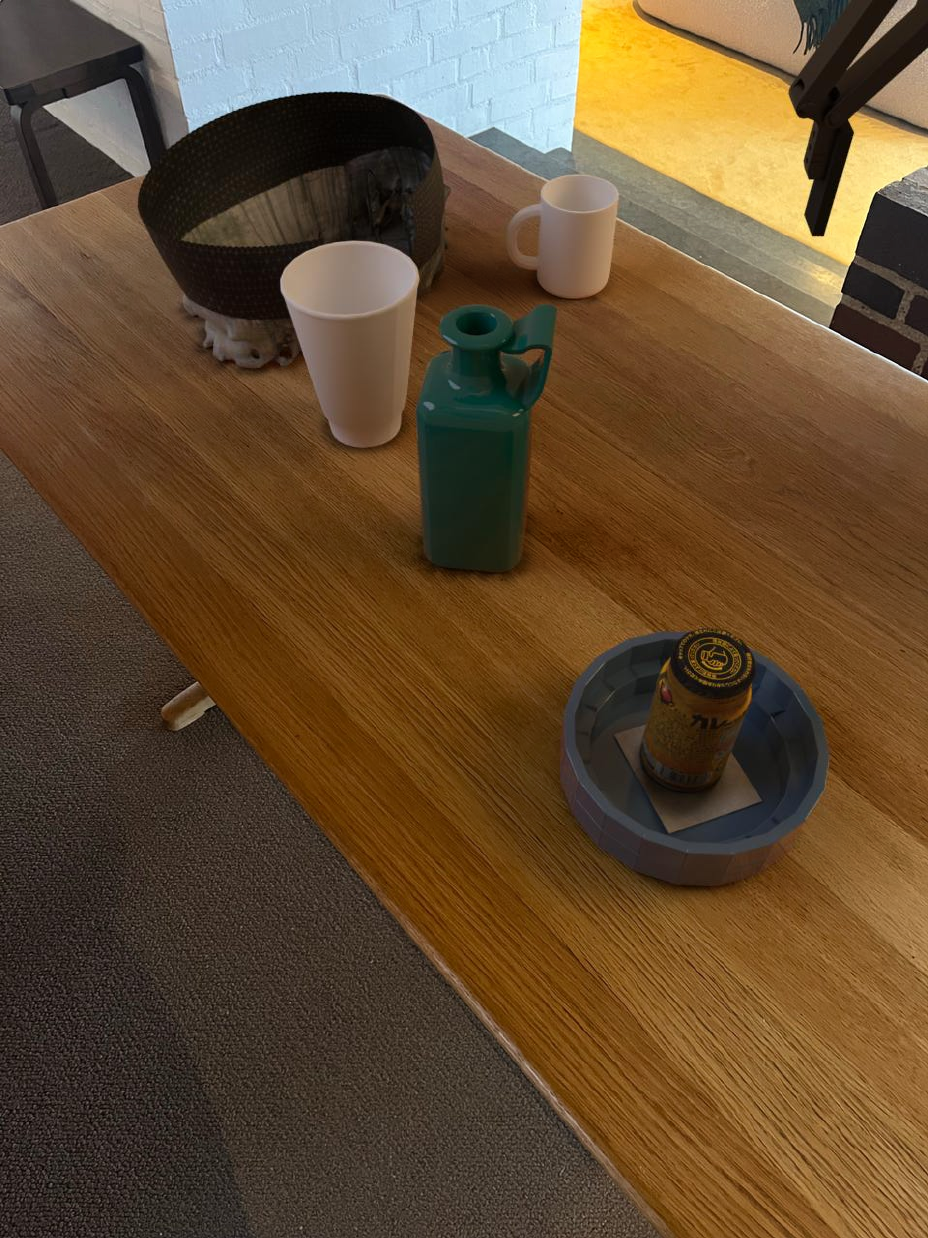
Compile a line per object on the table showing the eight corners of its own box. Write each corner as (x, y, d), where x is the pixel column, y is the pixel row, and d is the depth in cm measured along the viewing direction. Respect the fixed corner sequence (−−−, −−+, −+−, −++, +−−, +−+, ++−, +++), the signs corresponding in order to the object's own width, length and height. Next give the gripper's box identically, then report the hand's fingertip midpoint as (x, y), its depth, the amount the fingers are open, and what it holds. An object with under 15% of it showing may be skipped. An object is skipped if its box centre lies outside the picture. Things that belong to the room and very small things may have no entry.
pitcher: (420, 568, 82) (406, 349, 65) (435, 499, 87) (426, 280, 70) (534, 579, 81) (550, 361, 64) (543, 509, 86) (560, 290, 69)
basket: (519, 328, 104) (525, 180, 91) (200, 409, 96) (159, 259, 83) (424, 206, 120) (418, 67, 108) (145, 267, 112) (104, 124, 99)
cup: (369, 371, 99) (354, 225, 87) (451, 422, 94) (448, 274, 82) (280, 425, 94) (250, 277, 81) (361, 483, 89) (343, 334, 76)
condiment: (701, 707, 72) (735, 604, 62) (761, 802, 67) (808, 705, 57) (613, 736, 70) (634, 635, 61) (667, 835, 65) (700, 742, 56)
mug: (505, 302, 107) (507, 214, 99) (501, 262, 112) (503, 175, 104) (612, 300, 107) (623, 211, 99) (604, 260, 112) (613, 172, 104)
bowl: (784, 678, 74) (803, 634, 70) (828, 895, 63) (854, 859, 59) (556, 671, 75) (561, 627, 71) (561, 885, 64) (567, 848, 60)
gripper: (1306, -221, 47) (1094, 196, 64) (797, -214, 48) (718, 196, 65) (1394, -183, 43) (1141, 257, 59) (828, -176, 44) (734, 256, 60)
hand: (919, 226), depth 62 cm, fingers open, 13 cm apart
